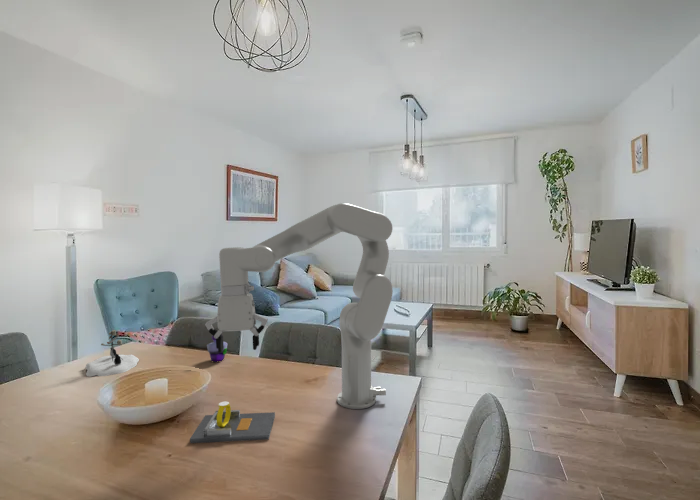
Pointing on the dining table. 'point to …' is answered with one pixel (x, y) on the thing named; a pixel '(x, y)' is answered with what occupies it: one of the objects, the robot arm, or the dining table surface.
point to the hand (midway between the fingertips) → (238, 349)
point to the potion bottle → (216, 351)
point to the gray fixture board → (234, 427)
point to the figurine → (111, 361)
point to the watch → (220, 413)
